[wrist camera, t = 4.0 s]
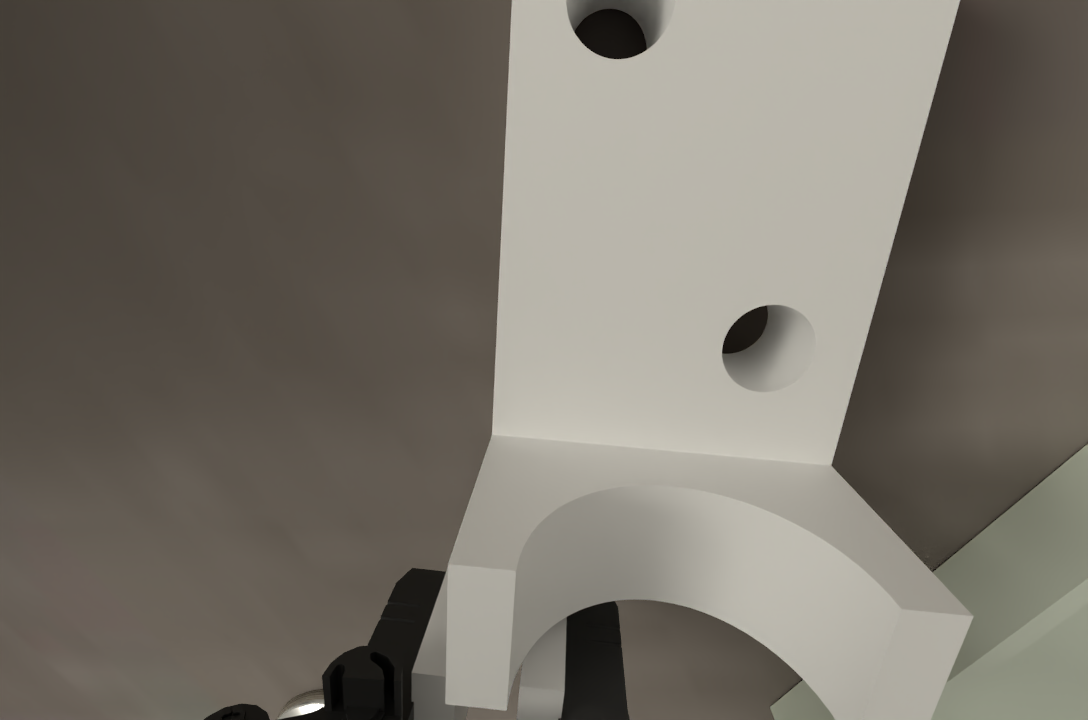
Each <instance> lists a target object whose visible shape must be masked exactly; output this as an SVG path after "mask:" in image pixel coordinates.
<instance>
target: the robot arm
mask: <svg viewBox="0 0 1088 720" xmlns="http://www.w3.org/2000/svg"><path fill="white" fill-rule="evenodd" d="M447 585H448V568H447V571H446V572H442V571H434V570H425V569H416V568H412V569H411V570H410V571H409V572H407V573H406V574H405V575H404V576H403V577H402V578H401V579H400V580H399V581H398V582H397V583H396V585H395V587H394V589H393V591H392V594H391V596H390V598H389V600H388V604H387V605H386V607H385V609H384V611H383V613H382V615H381V619H380V620H379V622H378V624H377V626H376V628H375V631H374V633H373V635H372V637H371V639H370V641H369V644H368V646H359V647H357V648H354V649H352V650H349V651H347V652H344V653H343V654H342V655H340V656H339V657H338V658H337V659H335V660H334V661H333V662H332V663H331V664H330V665H329V667H328V668H327V670H326V671H325V672H324V674H323V675H322V680H323V693H324V707H322V708H320V709H318V710H316V711H313V712H310V713H307V714H303V715H298V716H293V717H288V718H283V719H278V720H466V716H467V712H468V707H467V706H458V705H449V704H445V696H446V640H447ZM204 720H270V719H269V716H268V714H267V712H266V711H264V710H263V709H261V708H260V707H258V706H257V705H250V704H238V705H234V706H230V707H225V708H223V709H221V710H219V711H217V712H215V713H214V714H212V715H210V716H208V717H206V718H205V719H204ZM517 720H629V715H628V710H627V700H626V690H625V679H624V668H623V657H622V648H621V635H620V624H619V613H618V606H617V605H616V603H615V601H611V602H605V603H601V604H597V605H593V606H590V607H587V608H584V609H582V610H579V611H577V612H575V613H573V614H571V615H569V616H567V617H565V618H564V619H562V620H561V621H559V622H558V623H556V624H555V625H554V626H552V627H551V628H550V629H549V630H547V631H546V632H545V633H544V634H543V635H542V636H541V637H540V638H539V639H538V640H537V641H536V643H535V644H534V645H533V647H532V648H531V649H530V650H529V652H528V653H527V655H526V657H525V658H524V660H523V663H522V671H521V679H520V688H519V699H518V710H517Z"/></svg>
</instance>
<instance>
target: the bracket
mask: <svg viewBox="0 0 1088 720" xmlns="http://www.w3.org/2000/svg"><path fill="white" fill-rule="evenodd" d="M959 3H960V0H512V9H511V31H510V53H509V75H508V96H507V118H506V140H505V162H504V184H503V206H502V228H501V249H500V271H499V293H498V315H497V337H496V359H495V380H494V402H493V424H492V436H491V439H490V442H489V445H488V448H487V451H486V454H485V457H484V460H483V463H482V466H481V468H480V471H479V474H478V477H477V480H476V483H475V486H474V489H473V492H472V495H471V498H470V501H469V504H468V507H467V510H466V512H465V515H464V518H463V521H462V524H461V527H460V530H459V533H458V536H457V539H456V542H455V545H454V548H453V551H452V554H451V556H450V559H449V562H448V585H447V640H446V696H445V704H449V705H458V706H467V707H477V708H486V709H495V710H505V711H507V706H508V701H509V695H510V692H511V688H512V685H513V682H514V679H515V676H516V674H517V672H518V670H519V667H520V665H521V663H522V662H523V660H524V658H525V657H526V655H527V653H528V652H529V650H530V649H531V648H532V647H533V645H534V644H535V643H536V641H537V640H538V639H539V638H540V637H541V636H542V635H543V634H544V633H545V632H546V631H547V630H549V629H550V628H551V627H552V626H554V625H555V624H556V623H558V622H559V621H561V620H562V619H564V618H565V617H567V616H569V615H571V614H573V613H575V612H577V611H579V610H582V609H584V608H587V607H590V606H593V605H597V604H601V603H605V602H611V601H617V600H631V599H633V600H653V601H662V602H667V603H673V604H677V605H681V606H685V607H689V608H692V609H695V610H698V611H701V612H704V613H706V614H709V615H711V616H714V617H716V618H718V619H720V620H722V621H724V622H726V623H729V624H731V625H733V626H734V627H736V628H738V629H740V630H741V631H743V632H745V633H747V634H748V635H750V636H751V637H753V638H754V639H756V640H757V641H759V642H760V643H762V644H763V645H764V646H766V647H767V648H768V649H770V650H771V651H772V652H774V653H775V654H776V655H778V656H779V657H780V658H781V659H782V660H783V661H784V662H786V663H787V664H788V665H789V666H790V667H791V668H792V669H793V670H794V671H795V672H796V673H797V674H798V675H799V676H800V677H801V678H802V679H803V680H804V681H805V682H806V683H807V684H808V685H809V686H810V687H811V689H812V690H813V691H814V692H815V693H816V694H817V695H818V697H819V698H820V699H821V701H822V702H823V703H824V705H825V706H826V707H827V708H828V710H829V711H830V712H831V714H832V715H833V717H834V719H835V720H931V718H932V715H933V713H934V711H935V708H936V706H937V703H938V701H939V699H940V696H941V694H942V691H943V689H944V686H945V684H946V682H947V679H948V677H949V674H950V672H951V670H952V667H953V665H954V662H955V660H956V658H957V655H958V653H959V650H960V648H961V646H962V643H963V641H964V638H965V636H966V634H967V631H968V629H969V626H970V624H971V622H972V619H973V617H974V616H973V615H972V614H971V613H970V612H969V611H968V610H967V609H966V608H965V607H964V606H963V604H962V603H961V602H960V601H959V600H958V599H957V598H956V597H955V596H954V595H953V594H952V593H951V592H950V591H949V590H948V589H947V588H946V586H945V585H944V584H943V583H942V582H941V581H940V580H939V579H938V578H937V577H936V576H935V575H934V574H933V573H932V572H931V571H930V570H929V569H928V567H927V566H926V565H925V564H924V563H923V562H922V561H921V560H920V559H919V558H918V557H917V556H916V555H915V554H914V553H913V552H912V551H911V549H910V548H909V547H908V546H907V545H906V544H905V543H904V542H903V541H902V540H901V539H900V538H899V537H898V536H897V535H896V534H895V533H894V531H893V530H892V529H891V528H890V527H889V526H888V525H887V524H886V523H885V522H884V521H883V520H882V519H881V518H880V517H879V516H878V515H877V513H876V512H875V511H874V510H873V509H872V508H871V507H870V506H869V505H868V504H867V503H866V502H865V501H864V500H863V499H862V498H861V497H860V496H859V494H858V493H857V492H856V491H855V490H854V489H853V488H852V487H851V486H850V485H849V484H848V483H847V482H846V481H845V480H844V479H843V478H842V476H841V475H840V474H839V473H838V472H837V471H836V470H835V469H834V468H833V467H832V466H831V465H832V461H833V457H834V454H835V450H836V447H837V443H838V439H839V436H840V432H841V428H842V425H843V421H844V418H845V414H846V410H847V407H848V403H849V400H850V396H851V392H852V389H853V385H854V382H855V378H856V374H857V371H858V367H859V364H860V360H861V356H862V353H863V349H864V345H865V342H866V338H867V335H868V331H869V327H870V324H871V320H872V317H873V313H874V309H875V306H876V302H877V299H878V295H879V291H880V288H881V284H882V281H883V277H884V273H885V270H886V266H887V262H888V259H889V255H890V252H891V248H892V244H893V241H894V237H895V234H896V230H897V226H898V223H899V219H900V216H901V212H902V208H903V205H904V201H905V198H906V194H907V190H908V187H909V183H910V179H911V176H912V172H913V169H914V165H915V161H916V158H917V154H918V151H919V147H920V143H921V140H922V136H923V133H924V129H925V125H926V122H927V118H928V115H929V111H930V107H931V104H932V100H933V96H934V93H935V89H936V86H937V82H938V78H939V75H940V71H941V68H942V64H943V60H944V57H945V53H946V50H947V46H948V42H949V39H950V35H951V32H952V28H953V24H954V21H955V17H956V13H957V10H958V6H959ZM602 9H617V10H621V11H623V12H625V13H627V14H629V15H630V16H632V17H633V18H634V19H635V20H636V21H637V23H638V24H639V25H640V27H641V29H642V31H643V33H644V36H645V39H646V45H647V50H646V51H644V52H643V53H641V54H639V55H637V56H634V57H631V58H626V59H609V58H605V57H602V56H599V55H597V54H595V53H594V52H592V51H591V50H589V49H588V48H587V47H586V46H584V45H583V43H582V42H581V41H580V40H579V39H578V37H577V36H576V34H575V32H574V31H575V30H576V28H577V26H578V25H579V24H580V23H581V22H582V20H583V19H585V18H586V17H587V16H588V15H590V14H592V13H594V12H596V11H598V10H602ZM766 305H767V310H768V320H767V324H766V327H765V330H764V332H763V333H762V335H761V336H760V338H759V339H758V340H757V341H756V342H755V343H754V344H753V345H751V346H750V347H748V348H747V349H745V350H743V351H740V352H737V353H731V354H723V353H722V348H723V343H724V339H725V337H726V334H727V333H728V331H729V329H730V328H731V326H732V325H733V324H734V323H735V322H736V321H737V320H738V319H739V318H740V317H741V316H742V315H744V314H745V313H747V312H749V311H751V310H753V309H755V308H758V307H761V306H766Z"/></svg>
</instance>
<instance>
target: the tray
mask: <svg viewBox="0 0 1088 720" xmlns="http://www.w3.org/2000/svg"><path fill="white" fill-rule="evenodd" d="M932 573H933V574H934V575H935V576H936V577H937V578H938V579H939V580H940V581H941V582H942V583H943V584H944V585H945V586H946V588H947V589H948V590H949V591H950V592H951V593H952V594H953V595H954V596H955V597H956V598H957V599H958V600H959V601H960V602H961V603H962V604H963V606H964V607H965V608H966V609H967V610H968V611H969V612H970V613H971V614H972V615H973V616H974V617H973V619H972V622H971V624H970V626H969V629H968V631H967V634H966V636H965V638H964V641H963V643H962V646H961V648H960V650H959V653H958V655H957V658H956V660H955V662H954V665H953V667H952V670H951V672H950V674H949V677H948V679H947V682H946V684H945V686H944V689H943V691H942V694H941V696H940V699H939V701H938V703H937V706H936V708H935V711H934V713H933V715H932V718H931V720H1088V444H1087V445H1086V446H1084V447H1083V448H1082V449H1081V450H1080V451H1078V452H1077V453H1076V454H1075V455H1074V456H1072V457H1071V458H1070V459H1069V460H1068V461H1066V462H1065V463H1064V464H1063V465H1062V466H1060V467H1059V468H1058V469H1057V470H1056V471H1054V472H1053V473H1052V474H1051V475H1049V476H1048V477H1047V478H1046V479H1045V480H1043V481H1042V482H1041V483H1040V484H1039V485H1037V486H1036V487H1035V488H1034V489H1033V490H1031V491H1030V492H1029V493H1028V494H1027V495H1025V496H1024V497H1023V498H1022V499H1021V500H1019V501H1018V502H1017V503H1016V504H1014V505H1013V506H1012V507H1011V508H1010V509H1008V510H1007V511H1006V512H1005V513H1004V514H1002V515H1001V516H1000V517H999V518H998V519H996V520H995V521H994V522H993V523H992V524H990V525H989V526H988V527H987V528H986V529H984V530H983V531H982V532H981V533H980V534H978V535H977V536H976V537H975V538H973V539H972V540H971V541H970V542H969V543H967V544H966V545H965V546H964V547H963V548H961V549H960V550H959V551H958V552H957V553H955V554H954V555H953V556H952V557H951V558H949V559H948V560H947V561H946V562H945V563H943V564H942V565H941V566H940V567H938V568H937V569H936V570H935V571H934V572H932ZM770 709H771V711H772V714H773V717H774V720H835V719H834V717H833V715H832V714H831V712H830V711H829V710H828V708H827V707H826V706H825V705H824V703H823V702H822V701H821V699H820V698H819V697H818V695H817V694H816V693H815V692H814V691H813V690H812V689H811V687H810V686H809V685H808V684H807V683H806V682H805V681H804V680H802V681H801V682H800V683H799V684H797V685H796V686H795V687H794V688H792V689H791V690H790V691H789V692H788V693H786V694H785V695H784V696H783V697H782V698H780V699H779V700H778V701H777V702H776V703H774V704H773V705H772V706H771V707H770Z"/></svg>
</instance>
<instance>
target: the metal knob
mask: <svg viewBox="0 0 1088 720" xmlns="http://www.w3.org/2000/svg"><path fill="white" fill-rule="evenodd" d="M322 707H324V693H323V690H315V691H310V692H306V693H303V694H301V695H299V696H297V697H295V698H293V699H292V700H291V701H289V702H288V703H287V704H286V705H285V706H284V708H283V709H282V711H281V713H280V714H279V716H278V718H277V720H278V719H283V718H288V717H293V716H298V715H303V714H307V713H310V712H313V711H316V710H318V709H320V708H322Z"/></svg>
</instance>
